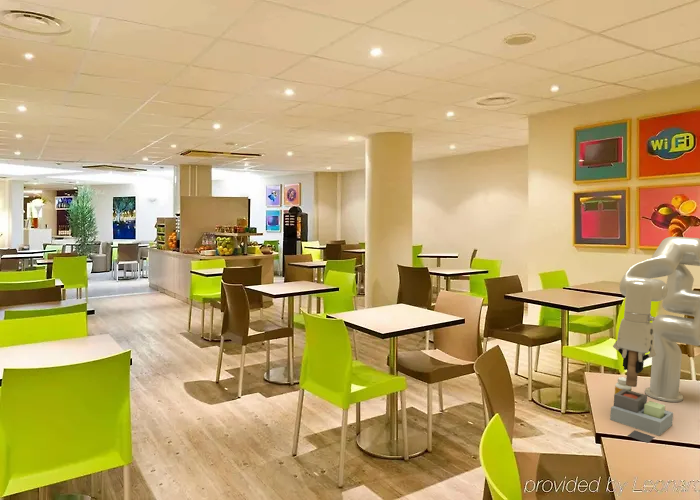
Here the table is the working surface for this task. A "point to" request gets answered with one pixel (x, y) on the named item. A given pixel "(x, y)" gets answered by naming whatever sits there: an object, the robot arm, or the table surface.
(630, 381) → the brown wooden cylinder
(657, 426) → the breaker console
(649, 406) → the on button
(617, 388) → the supplement bottle
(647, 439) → the pad
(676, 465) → the table surface
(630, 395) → the button
